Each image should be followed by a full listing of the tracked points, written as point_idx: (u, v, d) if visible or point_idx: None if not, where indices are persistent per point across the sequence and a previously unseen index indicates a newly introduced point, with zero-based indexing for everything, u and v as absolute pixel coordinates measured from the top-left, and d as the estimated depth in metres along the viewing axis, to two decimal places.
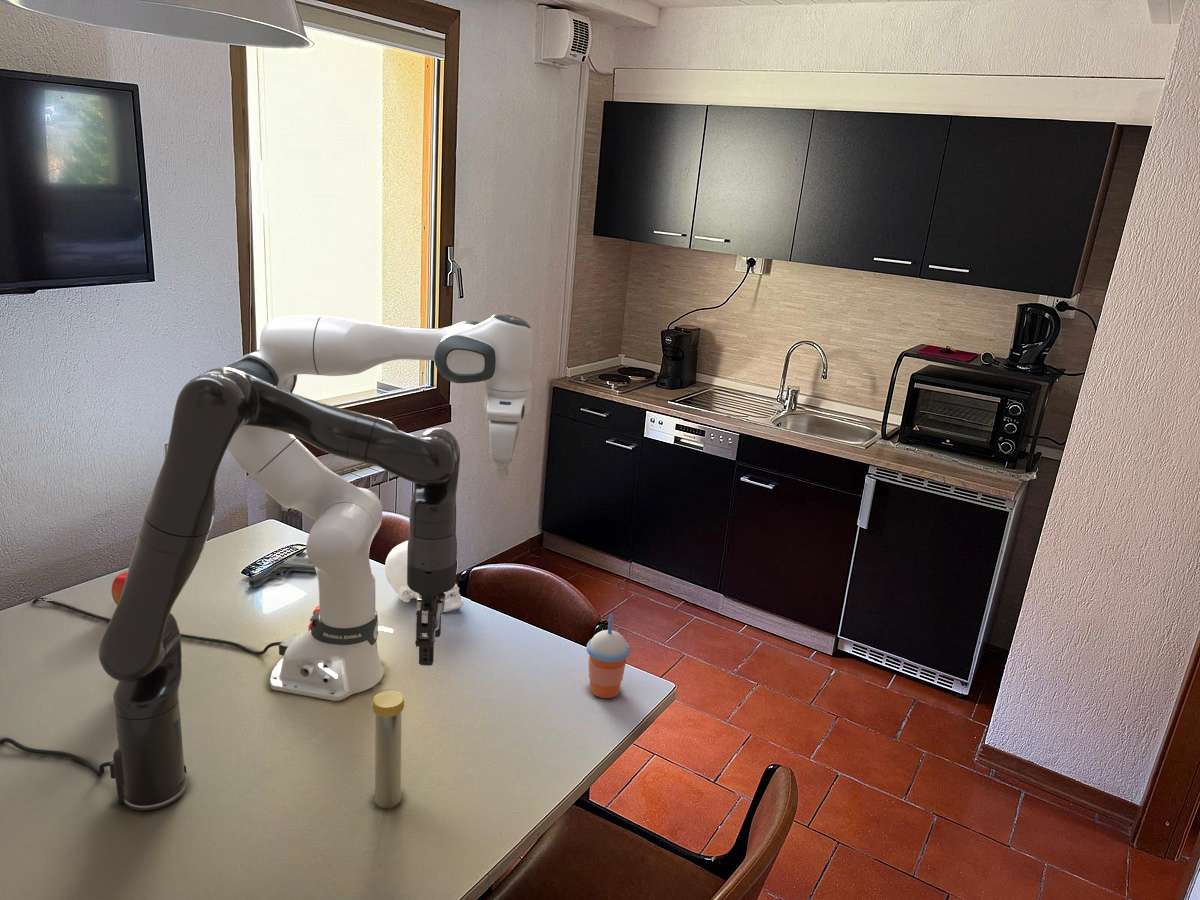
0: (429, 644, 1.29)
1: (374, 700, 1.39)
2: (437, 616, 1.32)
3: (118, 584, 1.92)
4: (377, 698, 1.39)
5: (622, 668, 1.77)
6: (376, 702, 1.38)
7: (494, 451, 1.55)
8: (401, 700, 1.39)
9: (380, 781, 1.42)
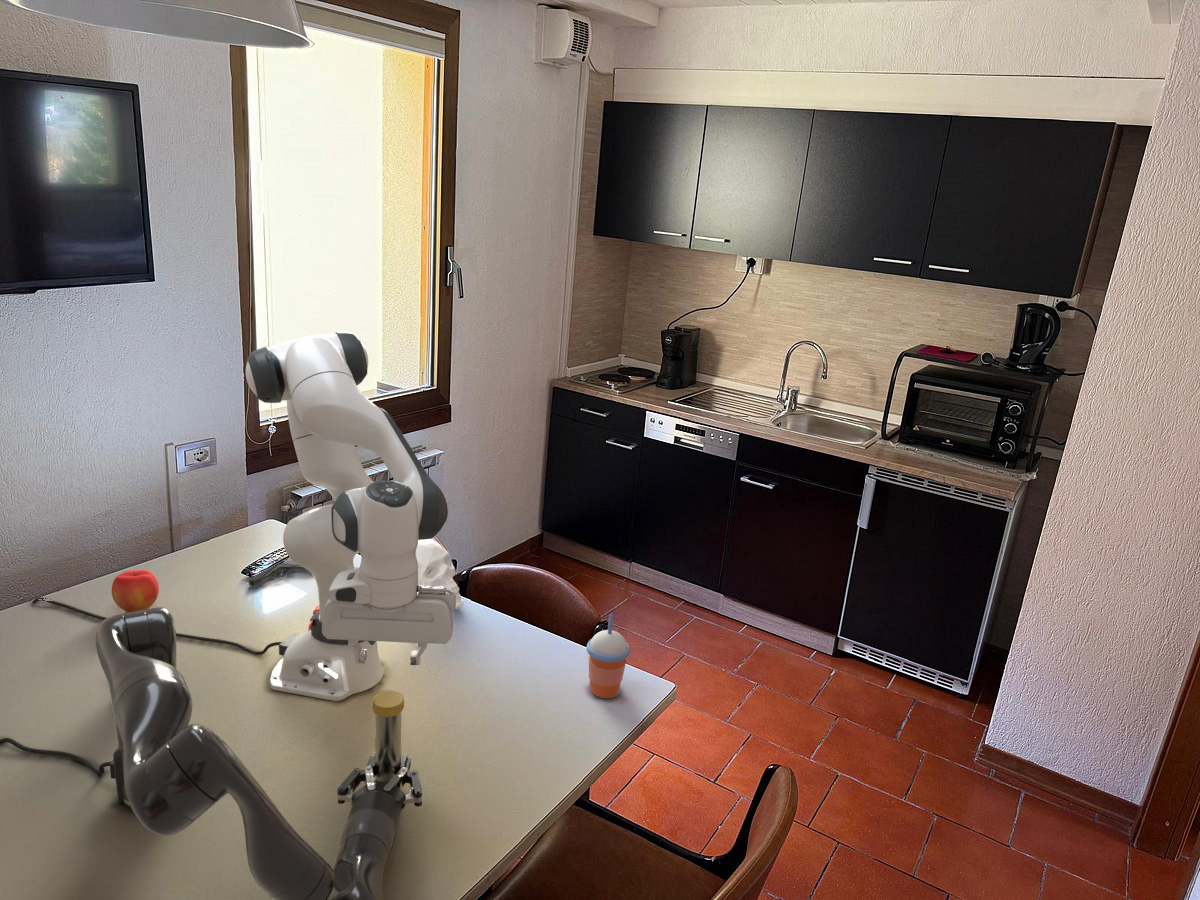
0: None
1: (374, 700, 1.39)
2: None
3: (118, 584, 1.92)
4: (377, 698, 1.39)
5: (622, 668, 1.77)
6: (376, 702, 1.38)
7: None
8: (401, 700, 1.39)
9: None
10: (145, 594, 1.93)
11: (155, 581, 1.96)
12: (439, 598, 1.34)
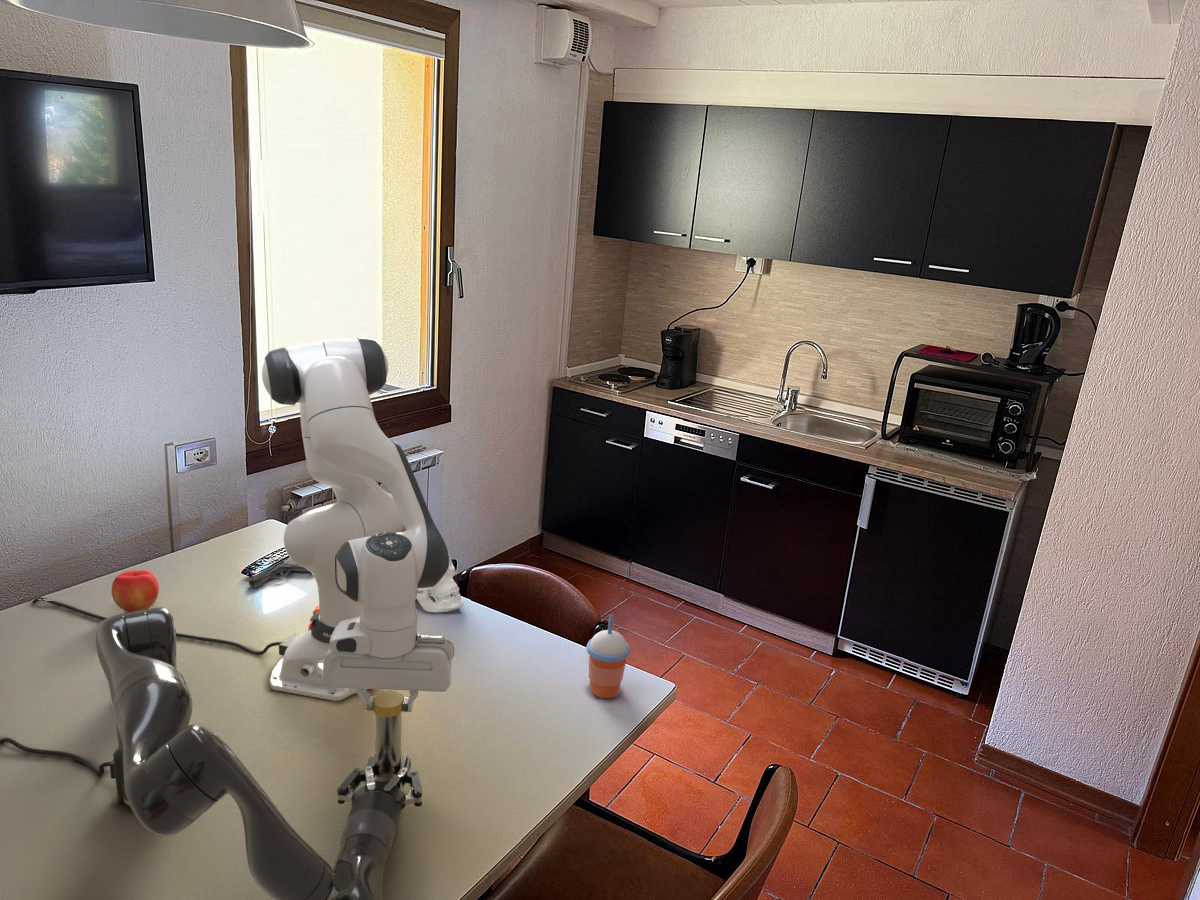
0: None
1: (374, 700, 1.39)
2: None
3: (118, 584, 1.92)
4: (377, 698, 1.39)
5: (622, 668, 1.77)
6: (376, 702, 1.38)
7: None
8: (401, 700, 1.39)
9: None
10: (145, 594, 1.93)
11: (155, 581, 1.96)
12: (438, 647, 1.36)
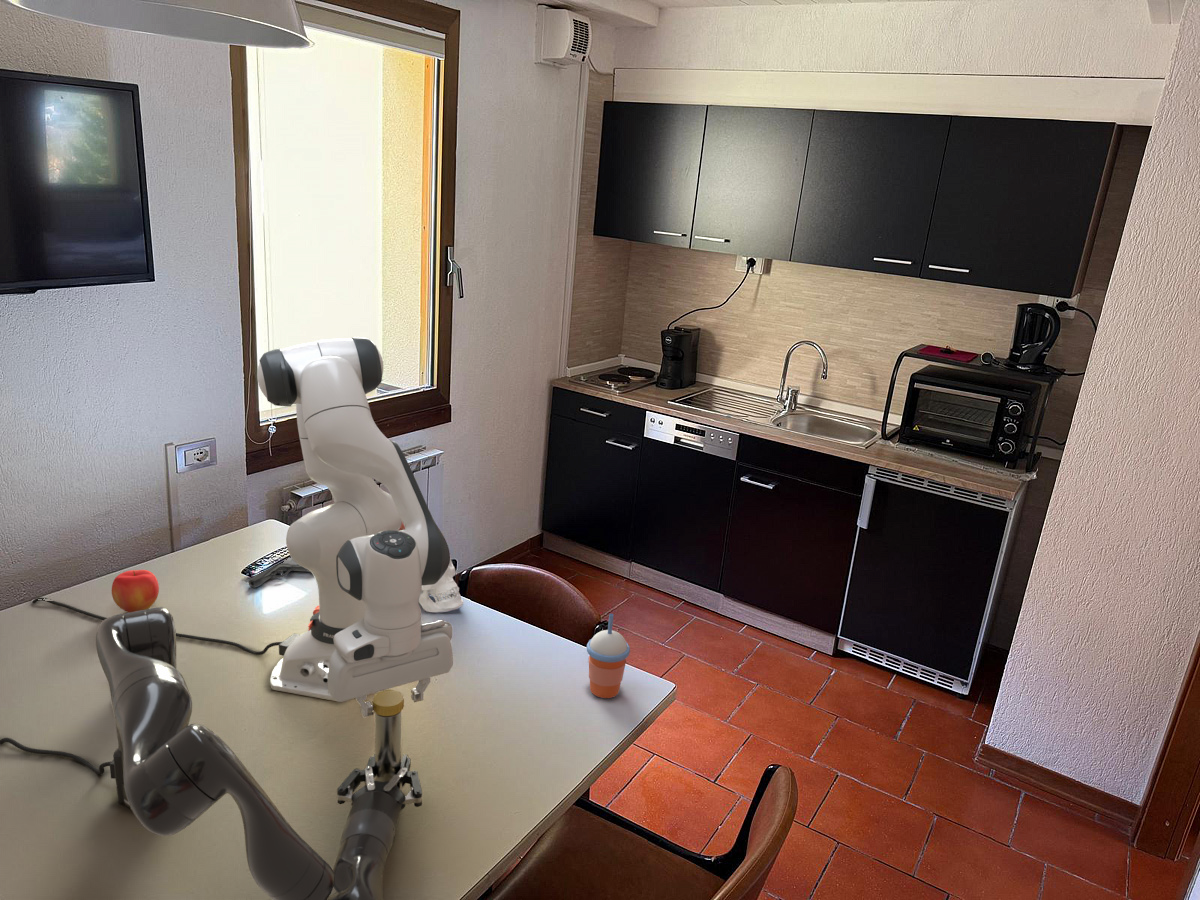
0: None
1: (387, 705, 1.37)
2: None
3: (118, 584, 1.92)
4: (384, 704, 1.37)
5: (622, 668, 1.77)
6: (391, 704, 1.37)
7: (328, 683, 1.33)
8: (394, 690, 1.41)
9: None
10: (145, 594, 1.93)
11: (155, 581, 1.96)
12: (439, 632, 1.41)
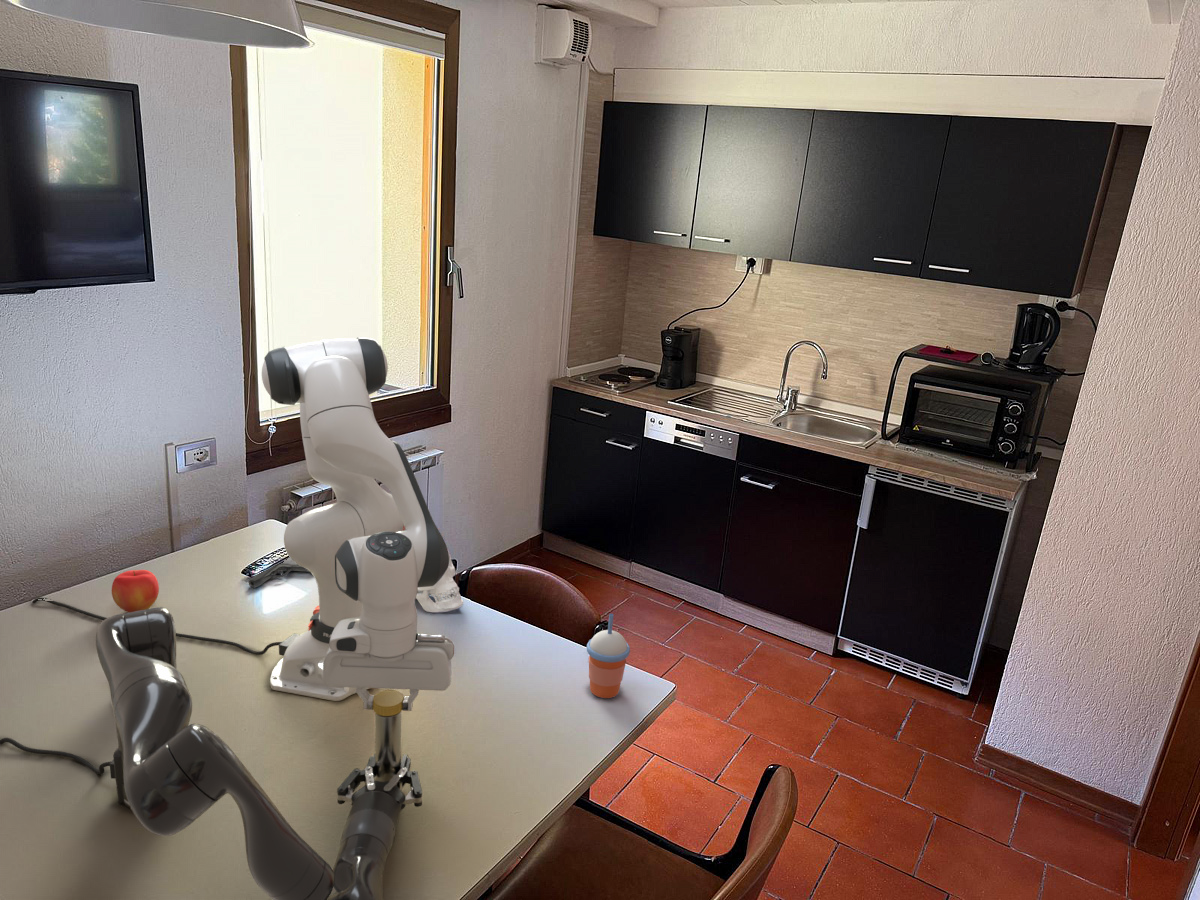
0: None
1: (387, 705, 1.37)
2: None
3: (118, 584, 1.92)
4: (384, 704, 1.37)
5: (622, 668, 1.77)
6: (391, 704, 1.37)
7: None
8: (394, 690, 1.41)
9: None
10: (145, 594, 1.93)
11: (155, 581, 1.96)
12: (438, 646, 1.36)
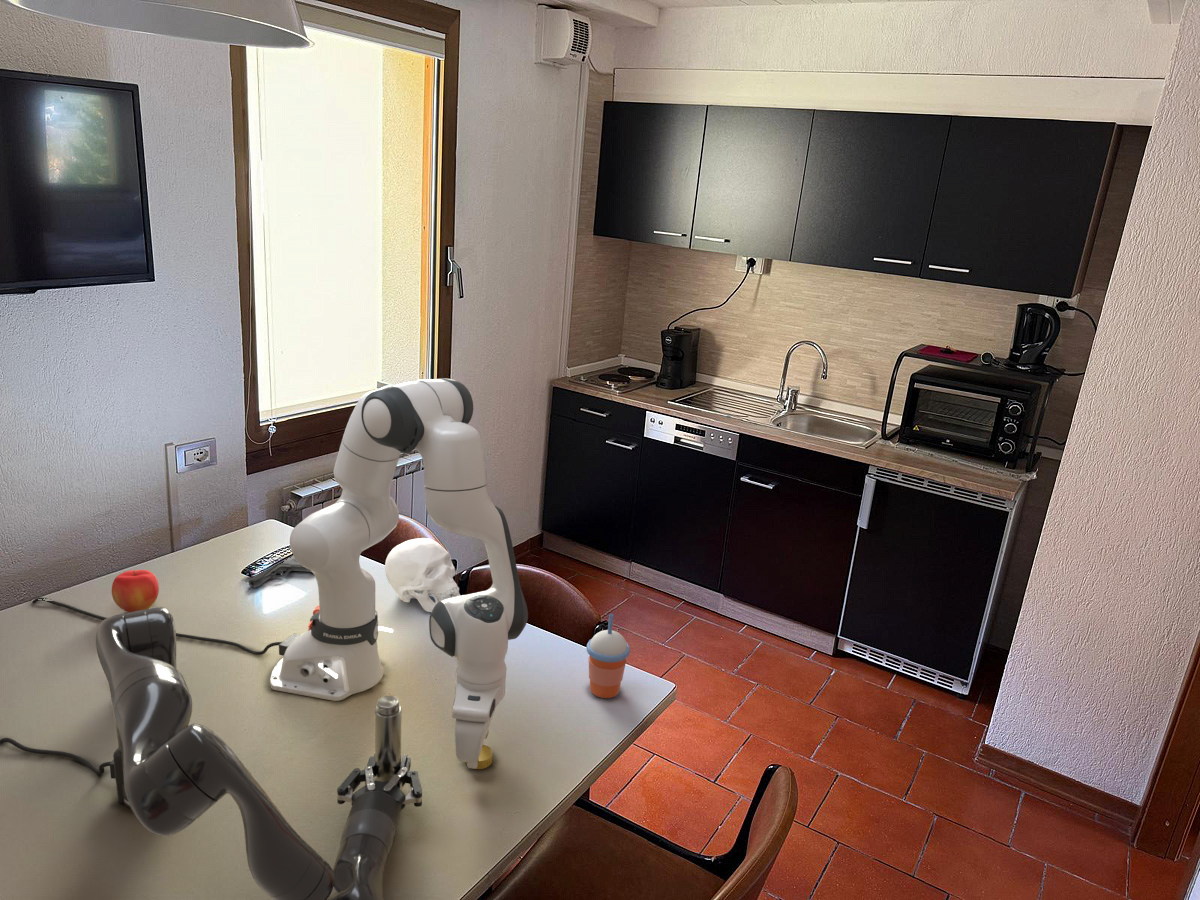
0: None
1: (491, 752, 1.56)
2: None
3: (118, 584, 1.92)
4: (488, 754, 1.56)
5: (622, 668, 1.77)
6: (489, 750, 1.57)
7: (459, 752, 1.45)
8: None
9: None
10: (145, 594, 1.93)
11: (155, 581, 1.96)
12: None
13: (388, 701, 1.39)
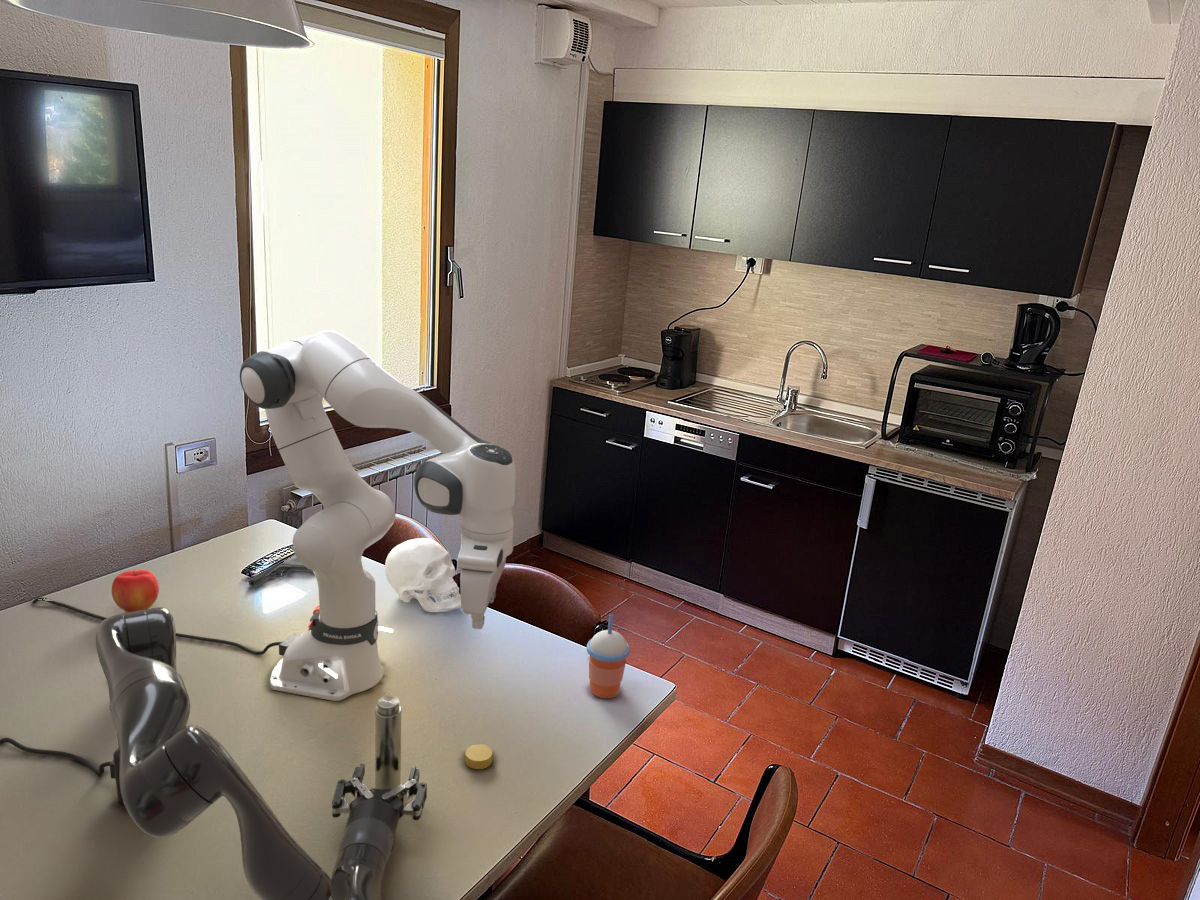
0: None
1: (491, 752, 1.56)
2: None
3: (118, 584, 1.92)
4: (488, 754, 1.56)
5: (622, 668, 1.77)
6: (489, 750, 1.57)
7: (465, 604, 1.36)
8: (468, 749, 1.57)
9: (380, 781, 1.42)
10: (145, 594, 1.93)
11: (155, 581, 1.96)
12: None
13: (388, 701, 1.39)
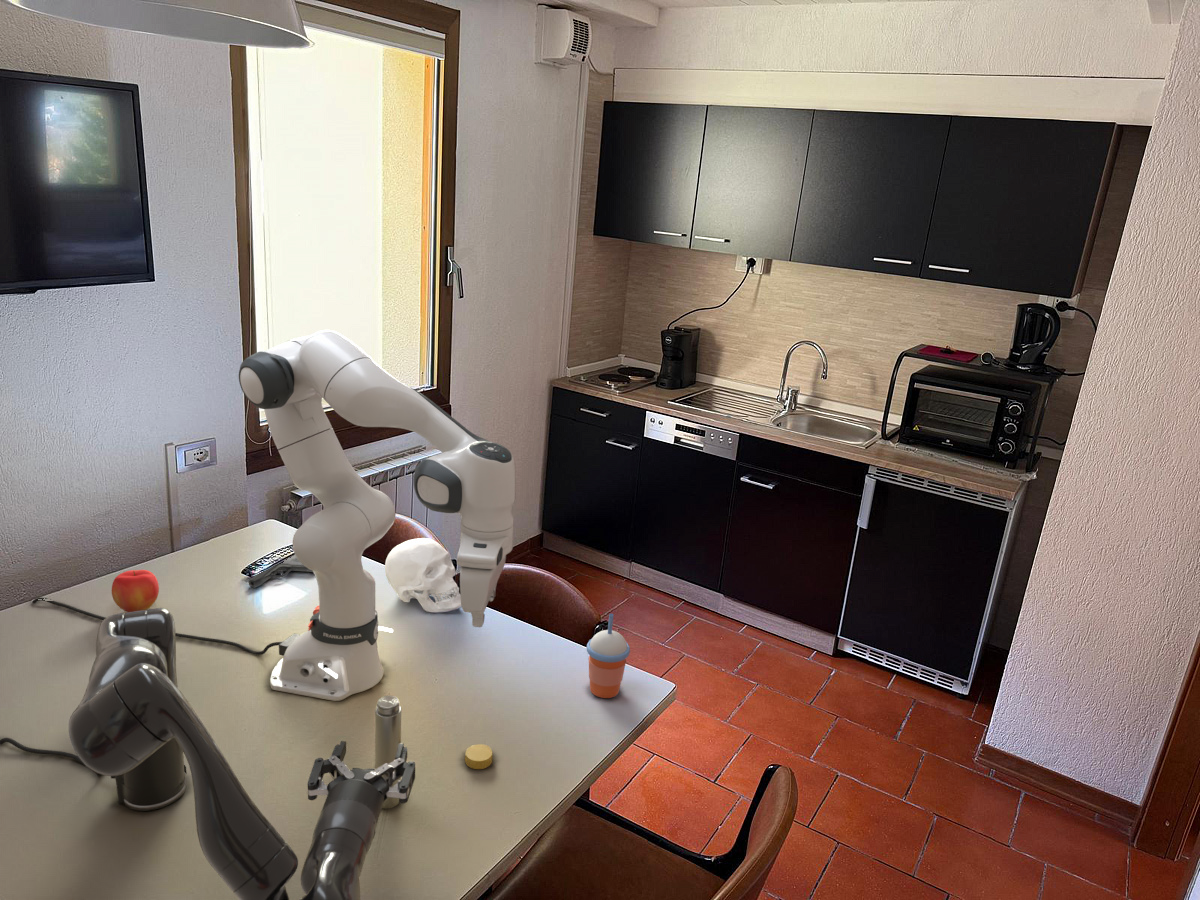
0: None
1: (491, 752, 1.56)
2: None
3: (118, 584, 1.92)
4: (488, 754, 1.56)
5: (622, 668, 1.77)
6: (489, 750, 1.57)
7: (464, 602, 1.36)
8: (468, 749, 1.57)
9: None
10: (145, 594, 1.93)
11: (155, 581, 1.96)
12: None
13: (388, 701, 1.39)
